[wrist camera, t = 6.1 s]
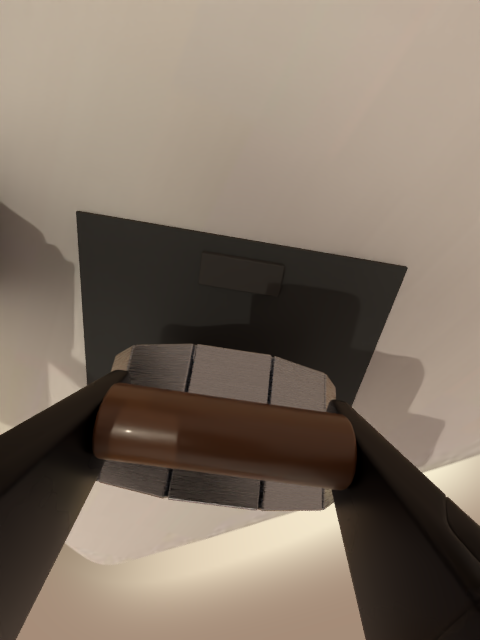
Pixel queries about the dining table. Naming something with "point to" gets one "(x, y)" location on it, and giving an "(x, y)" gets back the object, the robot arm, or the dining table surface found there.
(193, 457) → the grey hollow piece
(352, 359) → the mat
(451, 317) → the dining table surface
